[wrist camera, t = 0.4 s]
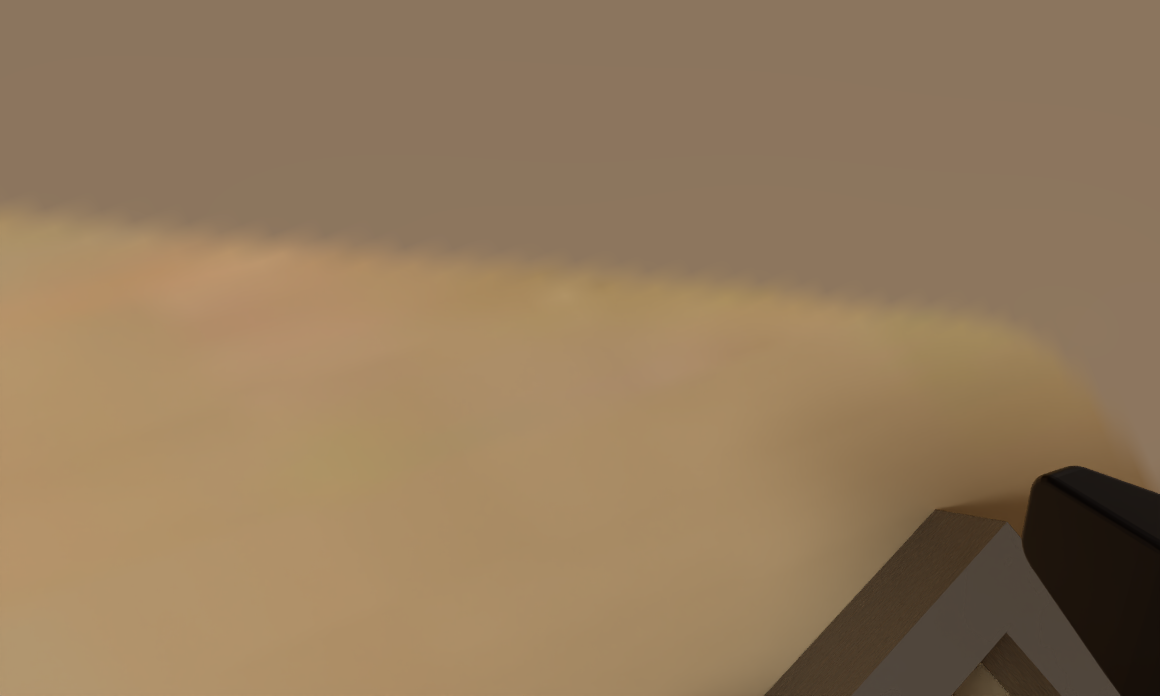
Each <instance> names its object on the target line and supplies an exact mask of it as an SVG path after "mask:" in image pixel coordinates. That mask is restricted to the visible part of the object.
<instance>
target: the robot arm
mask: <svg viewBox="0 0 1160 696" xmlns="http://www.w3.org/2000/svg"><path fill="white" fill-rule="evenodd" d="M1021 540H1022V548H1023V551H1024V554H1025V557H1026V559H1027V561H1028V563H1029V564H1030V566H1031V568H1032V569H1033V570H1034V572H1035V573H1036V575H1037V576H1038V578H1039V579H1040V581H1041V582H1042V584H1043V585H1044V586H1045V588H1046V589H1047V591H1048V592H1049V594H1050V595H1051V597H1052V598H1053V600H1054V601H1055V602H1056V604H1057V605H1058V607H1059V608H1060V610H1061V611H1062V613H1063V614H1064V616H1065V617H1066V618H1067V620H1068V621H1069V623H1070V624H1071V626H1072V627H1073V629H1074V630H1075V632H1076V633H1077V634H1078V636H1079V637H1080V639H1081V640H1082V642H1083V643H1084V645H1085V646H1086V648H1087V649H1088V650H1089V652H1090V653H1091V655H1092V656H1093V658H1094V659H1095V661H1096V662H1097V664H1098V665H1099V666H1100V668H1101V669H1102V671H1103V672H1104V674H1105V675H1106V676H1107V678H1108V679H1109V681H1110V682H1111V683H1112V685H1113V686H1114V687H1115V689H1116V690H1117V691H1118V693H1119V694H1120V696H1160V494H1158V493H1155V492H1153V491H1150V490H1147V489H1144V488H1141V487H1138V486H1136V485H1133V484H1130V483H1127V482H1124V481H1121V480H1119V479H1116V478H1113V477H1110V476H1107V475H1104V474H1102V473H1099V472H1096V471H1093V470H1090V469H1087V468H1084V467H1081V466H1068V467H1064V468H1061V469H1058V470H1055V471H1052V472H1049V473H1047V474H1044V475H1041V476H1039V477H1038V478H1037V479H1036V480H1035V481H1034V482H1033V484H1032V487H1031V491H1030V496H1029V501H1028V506H1027V511H1026V516H1025V521H1024V526H1023V532H1022V539H1021Z"/></svg>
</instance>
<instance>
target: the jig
mask: <svg viewBox="0 0 1160 696" xmlns="http://www.w3.org/2000/svg"><path fill="white" fill-rule="evenodd" d="M980 662H982V663H983V664H984V665H985V667H986V668H987V669H988V670H989V671H990V672H991V673H992V675H993V676H994V677H995V678H996V679H997V680H998V681H999V683H1000V684H1001V685H1002V686H1003V687H1004V688H1005V689H1006V691H1007V692H1008V693H1009V694H1010V695H1011V696H1120V694H1119V693H1118V691H1117V690H1116V689H1115V687H1114V686H1113V685H1112V683H1111V682H1110V681H1109V679H1108V678H1107V676H1106V675H1105V674H1104V672H1103V671H1102V669H1101V668H1100V666H1099V665H1098V664H1097V662H1096V661H1095V659H1094V658H1093V656H1092V655H1091V653H1090V652H1089V650H1088V649H1087V648H1086V646H1085V645H1084V643H1083V642H1082V640H1081V639H1080V637H1079V636H1078V634H1077V633H1076V632H1075V630H1074V629H1073V627H1072V626H1071V624H1070V623H1069V621H1068V620H1067V618H1066V617H1065V616H1064V614H1063V613H1062V611H1061V610H1060V608H1059V607H1058V605H1057V604H1056V602H1055V601H1054V600H1053V598H1052V597H1051V595H1050V594H1049V592H1048V591H1047V589H1046V588H1045V586H1044V585H1043V584H1042V582H1041V581H1040V579H1039V578H1038V576H1037V575H1036V573H1035V572H1034V570H1033V569H1032V568H1031V566H1030V564H1029V563H1028V561H1027V559H1026V557H1025V554H1024V551H1023V548H1022V540H1021V537H1020V536H1019V535H1018V534H1017V533H1016V532H1015V530H1014V529H1013V528H1012V527H1011V526H1010V525H1009V523H1008V522H1005V521H999V520H993V519H987V518H981V517H975V516H970V515H964V514H958V513H952V512H946V511H940V510H935V511H934V512H933V513H932V514H931V515H930V516H929V517H928V518H927V519H926V520H925V522H924V523H923V524H922V525H921V526H920V527H919V528H918V529H917V530H916V531H915V532H914V533H913V535H912V536H911V537H910V538H909V539H908V540H907V541H906V542H905V543H904V544H903V545H902V547H901V548H900V549H899V550H898V551H897V552H896V553H895V554H894V555H893V556H892V557H891V559H890V560H889V561H888V562H887V563H886V564H885V565H884V566H883V567H882V568H881V569H880V570H879V572H878V573H877V574H876V575H875V576H874V577H873V578H872V579H871V580H870V581H869V582H868V584H867V585H866V586H865V587H864V588H863V589H862V590H861V591H860V592H859V593H858V594H857V595H856V597H855V598H854V599H853V600H852V601H851V602H850V603H849V604H848V605H847V606H846V607H845V609H844V610H843V611H842V612H841V613H840V614H839V615H838V616H837V617H836V618H835V619H834V621H833V622H832V623H831V624H830V625H829V626H828V627H827V628H826V629H825V630H824V631H823V632H822V634H821V635H820V636H819V637H818V638H817V639H816V640H815V641H814V642H813V643H812V644H811V646H810V647H809V648H808V649H807V650H806V651H805V652H804V653H803V654H802V655H801V656H800V657H799V659H798V660H797V661H796V662H795V663H794V664H793V665H792V666H791V667H790V668H789V669H788V671H787V672H786V673H785V674H784V675H783V676H782V677H781V678H780V679H779V680H778V681H777V683H776V684H775V685H774V686H773V687H772V688H771V689H770V690H769V691H768V692H767V693H766V694H765V696H951V695H952V694H953V693H954V692H955V691H956V690H957V688H958V687H959V686H960V685H961V684H962V683H963V682H964V680H965V679H966V678H967V677H968V676H969V675H970V673H971V672H972V671H973V670H974V669H975V668H976V667H977V665H978V664H979V663H980Z"/></svg>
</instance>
